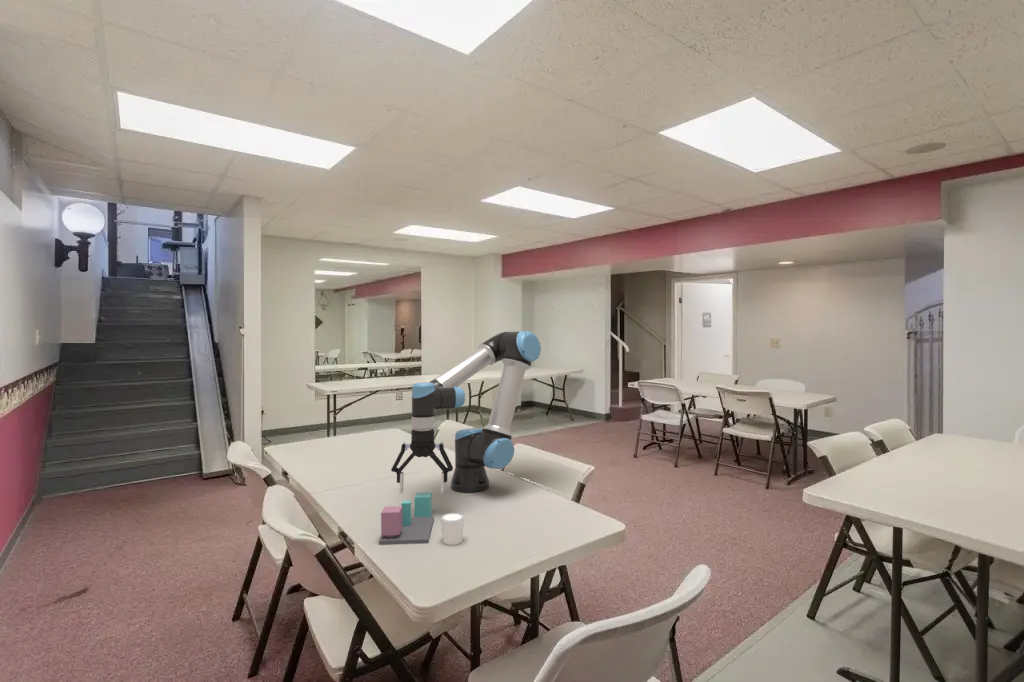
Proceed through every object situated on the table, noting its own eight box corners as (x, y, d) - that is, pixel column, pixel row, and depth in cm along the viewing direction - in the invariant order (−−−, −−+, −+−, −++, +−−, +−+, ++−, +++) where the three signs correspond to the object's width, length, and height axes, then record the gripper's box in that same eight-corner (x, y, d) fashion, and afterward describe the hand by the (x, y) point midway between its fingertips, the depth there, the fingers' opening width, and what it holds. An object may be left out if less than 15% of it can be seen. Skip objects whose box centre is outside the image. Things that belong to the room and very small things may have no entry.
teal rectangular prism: (432, 511, 164) (431, 492, 164) (430, 517, 158) (430, 497, 158) (416, 511, 163) (416, 492, 163) (414, 517, 158) (414, 497, 158)
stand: (434, 519, 156) (433, 493, 156) (428, 542, 138) (427, 513, 138) (390, 520, 155) (390, 494, 155) (378, 544, 137) (378, 514, 137)
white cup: (453, 534, 144) (452, 510, 144) (469, 540, 140) (469, 516, 140) (435, 541, 139) (435, 517, 139) (452, 548, 135) (452, 523, 135)
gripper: (460, 426, 165) (459, 488, 165) (387, 427, 164) (386, 489, 163) (459, 430, 158) (459, 495, 158) (383, 430, 156) (382, 496, 156)
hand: (422, 492), depth 161 cm, fingers open, 13 cm apart
